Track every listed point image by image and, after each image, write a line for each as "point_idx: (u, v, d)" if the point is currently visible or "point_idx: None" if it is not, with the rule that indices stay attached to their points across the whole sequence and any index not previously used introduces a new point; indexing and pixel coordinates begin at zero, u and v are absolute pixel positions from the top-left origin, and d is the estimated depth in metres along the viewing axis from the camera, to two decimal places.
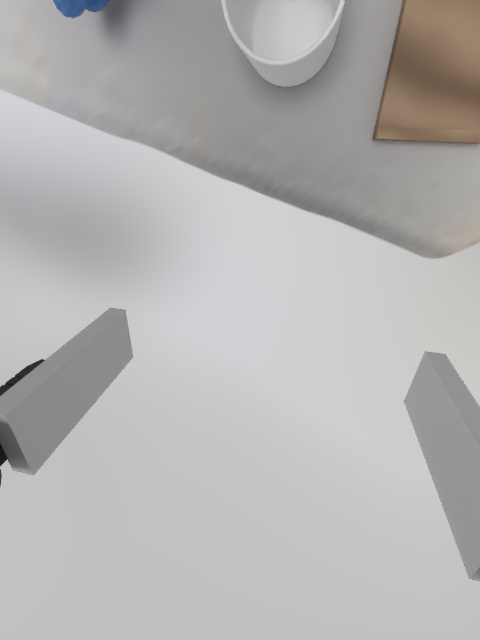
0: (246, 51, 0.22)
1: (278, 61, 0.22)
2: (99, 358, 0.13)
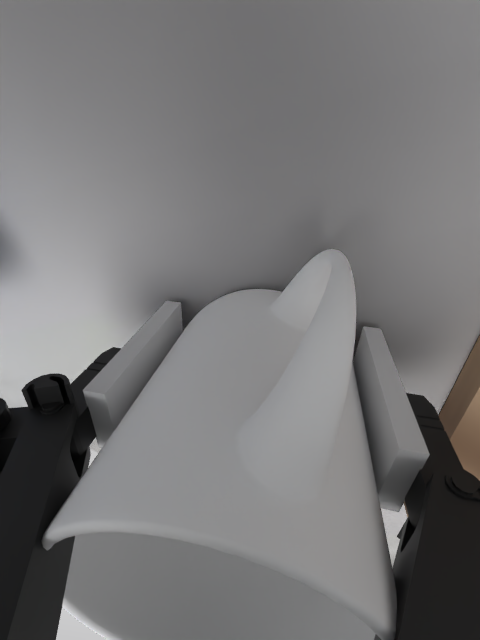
0: None
1: None
2: (163, 347, 0.13)
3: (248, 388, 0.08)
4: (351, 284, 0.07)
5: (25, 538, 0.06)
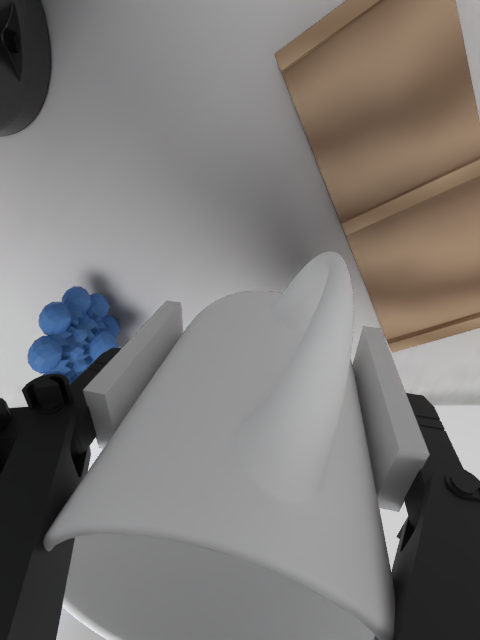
0: None
1: None
2: (163, 347, 0.13)
3: (247, 390, 0.08)
4: (348, 287, 0.07)
5: (25, 538, 0.06)
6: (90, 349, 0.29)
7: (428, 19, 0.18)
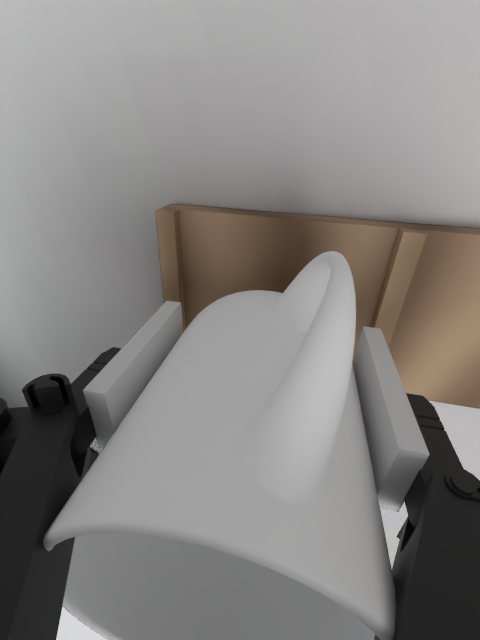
0: None
1: None
2: (163, 347, 0.13)
3: (248, 389, 0.08)
4: (351, 287, 0.07)
5: (26, 538, 0.06)
6: None
7: (218, 240, 0.17)
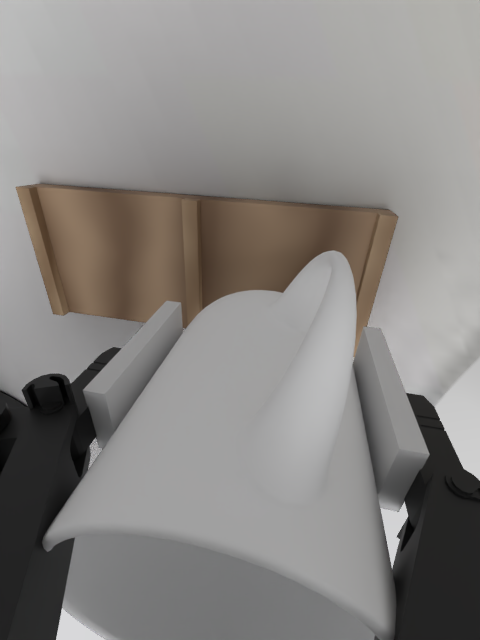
0: None
1: None
2: (163, 347, 0.13)
3: (248, 389, 0.08)
4: (352, 287, 0.07)
5: (25, 538, 0.06)
6: None
7: (68, 210, 0.22)
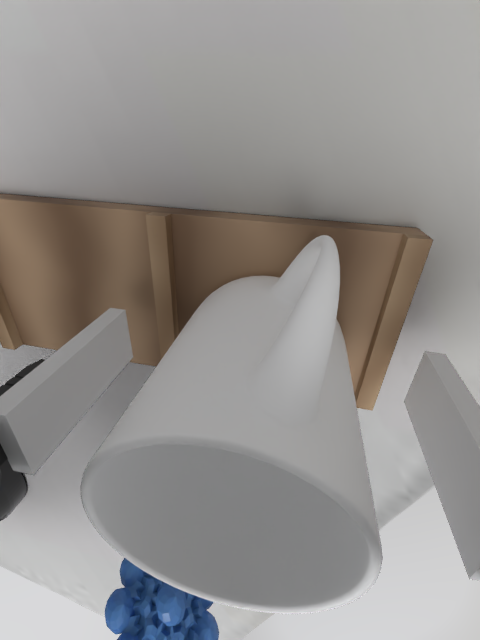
0: (157, 578, 0.11)
1: (223, 602, 0.11)
2: (99, 358, 0.13)
3: (253, 348, 0.10)
4: (335, 259, 0.08)
5: None
6: None
7: (9, 225, 0.18)
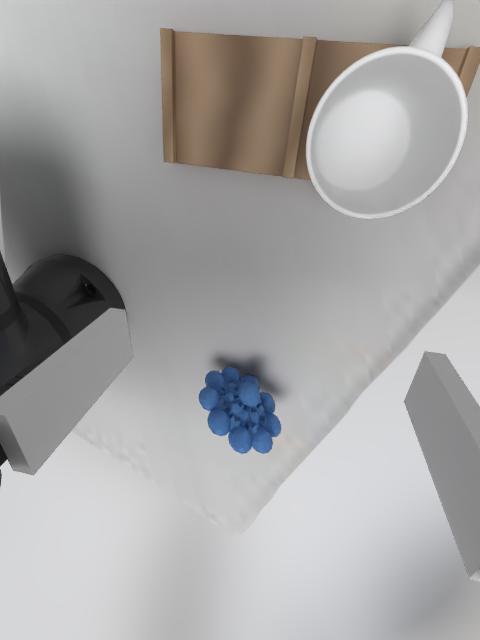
0: (327, 201, 0.20)
1: (363, 215, 0.20)
2: (99, 358, 0.13)
3: None
4: None
5: None
6: (241, 400, 0.37)
7: (198, 55, 0.27)
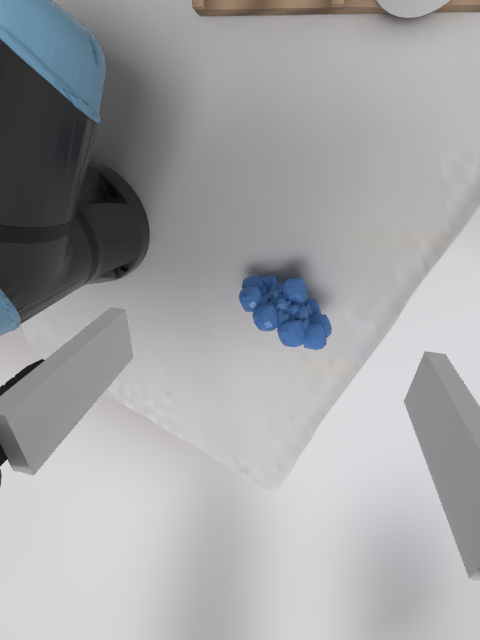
0: None
1: None
2: (99, 358, 0.13)
3: None
4: None
5: None
6: (287, 295, 0.34)
7: None
